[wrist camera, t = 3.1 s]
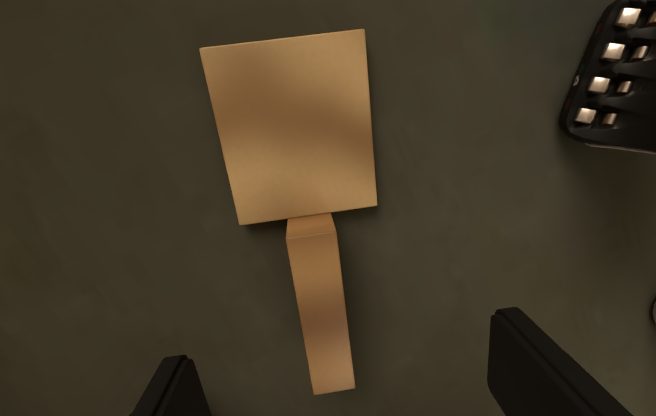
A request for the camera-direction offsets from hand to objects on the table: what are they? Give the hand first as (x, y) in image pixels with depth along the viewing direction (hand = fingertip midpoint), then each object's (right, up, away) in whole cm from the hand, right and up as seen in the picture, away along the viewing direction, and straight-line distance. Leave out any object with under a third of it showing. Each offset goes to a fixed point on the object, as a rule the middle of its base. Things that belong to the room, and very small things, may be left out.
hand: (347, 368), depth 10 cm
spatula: (-2, +4, +7) cm, 8 cm away
